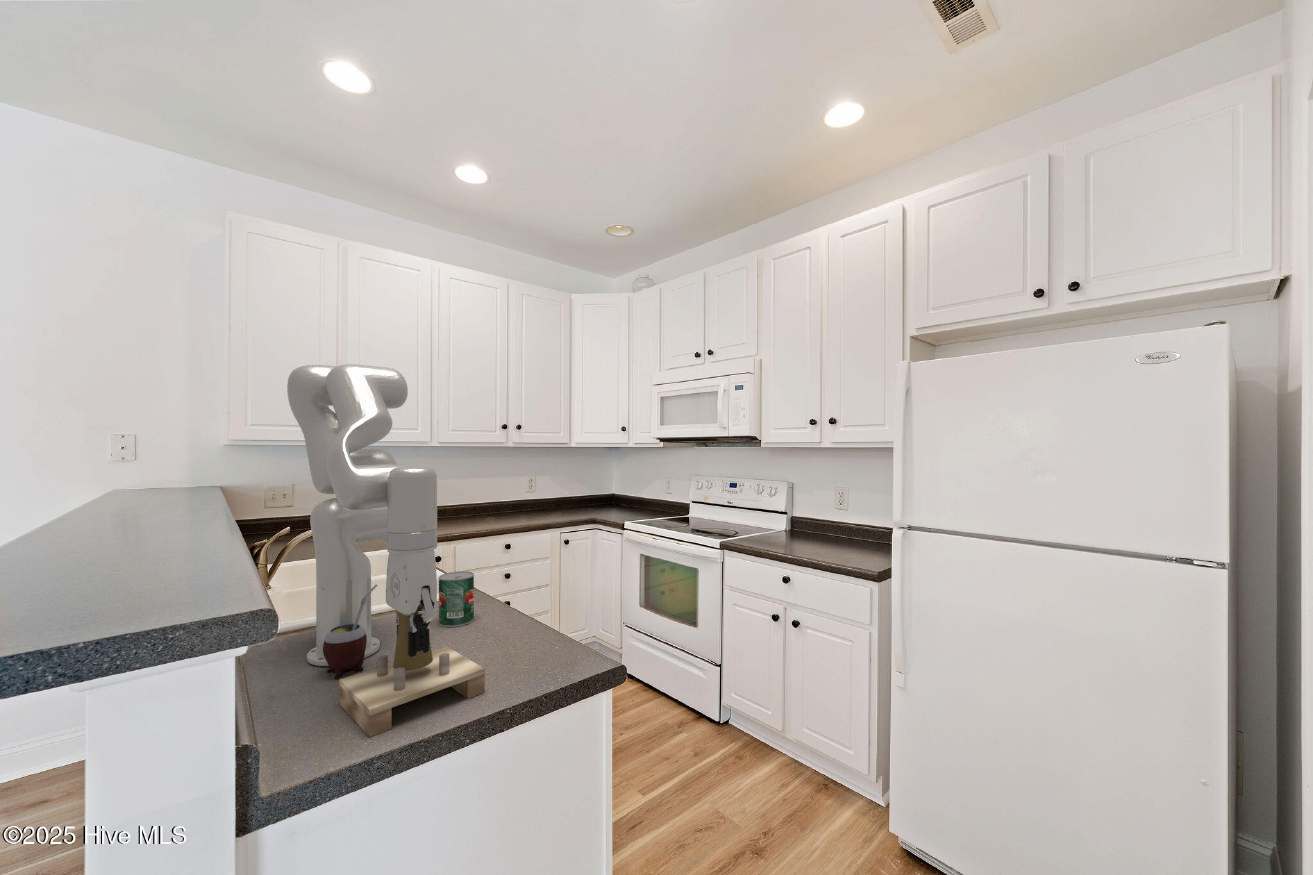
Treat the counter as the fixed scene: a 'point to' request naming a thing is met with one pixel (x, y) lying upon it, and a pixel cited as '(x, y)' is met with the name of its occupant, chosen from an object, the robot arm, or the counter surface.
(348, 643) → the mate gourd
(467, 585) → the canned tomato
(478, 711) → the counter surface
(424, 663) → the olive chess pawn
